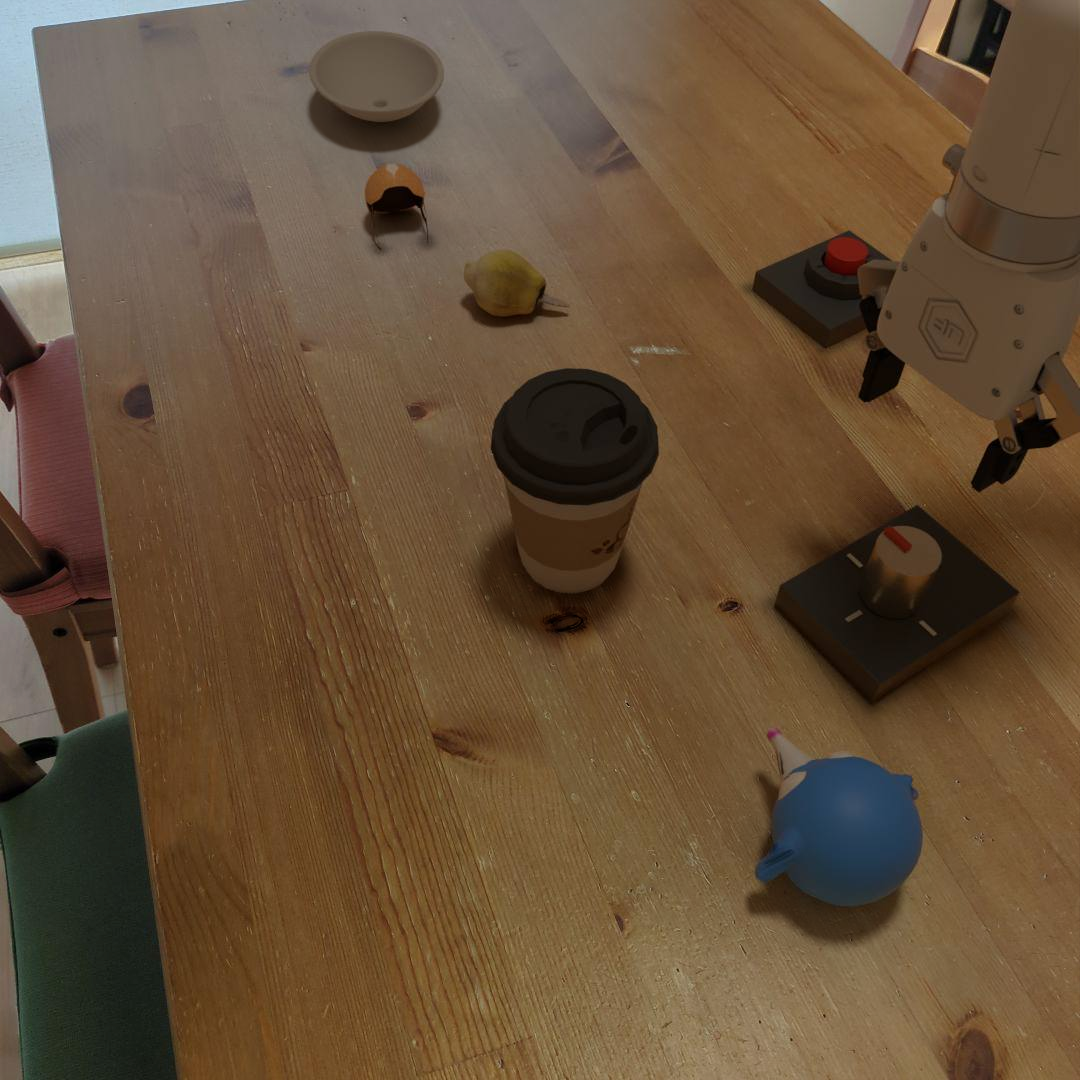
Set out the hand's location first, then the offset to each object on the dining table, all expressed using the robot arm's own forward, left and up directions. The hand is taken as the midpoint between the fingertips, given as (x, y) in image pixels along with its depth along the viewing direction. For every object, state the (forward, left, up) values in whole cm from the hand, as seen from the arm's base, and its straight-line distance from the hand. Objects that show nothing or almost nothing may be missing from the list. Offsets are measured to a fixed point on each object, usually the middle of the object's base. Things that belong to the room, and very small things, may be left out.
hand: (931, 435), depth 72 cm
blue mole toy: (+18, +13, -15) cm, 27 cm away
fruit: (+5, -41, -15) cm, 44 cm away
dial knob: (+2, +3, -12) cm, 13 cm away
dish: (-1, -78, -15) cm, 79 cm away
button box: (-21, -26, -15) cm, 36 cm away
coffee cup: (+18, -14, -15) cm, 28 cm away
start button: (-21, -26, -11) cm, 35 cm away
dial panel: (+1, +3, -15) cm, 15 cm away
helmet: (+8, -58, -15) cm, 61 cm away
